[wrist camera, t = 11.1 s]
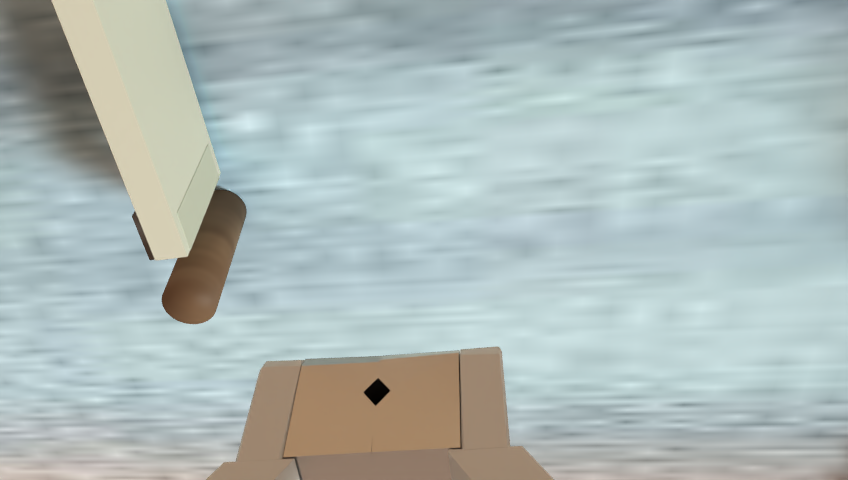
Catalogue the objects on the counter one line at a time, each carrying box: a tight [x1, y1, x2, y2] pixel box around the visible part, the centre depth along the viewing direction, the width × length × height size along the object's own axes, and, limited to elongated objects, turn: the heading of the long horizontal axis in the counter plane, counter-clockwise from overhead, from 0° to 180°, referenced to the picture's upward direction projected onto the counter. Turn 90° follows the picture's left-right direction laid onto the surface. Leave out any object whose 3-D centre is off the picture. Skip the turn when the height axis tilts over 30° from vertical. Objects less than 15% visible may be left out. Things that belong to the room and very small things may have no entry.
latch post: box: [132, 190, 246, 324], centre depth 32 cm, size 4×3×6 cm
